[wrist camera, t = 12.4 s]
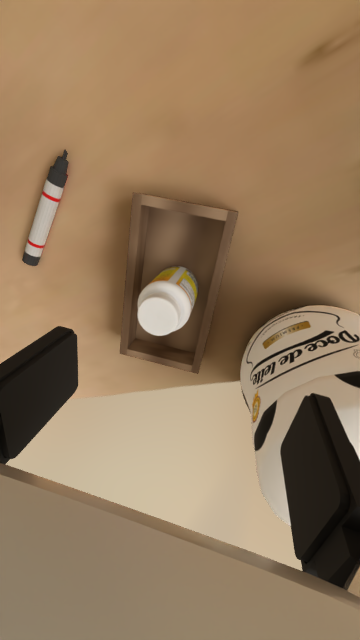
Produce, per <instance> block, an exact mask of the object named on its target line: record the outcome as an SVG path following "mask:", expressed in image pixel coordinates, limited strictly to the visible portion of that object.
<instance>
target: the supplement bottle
mask: <svg viewBox="0 0 360 640" xmlns="http://www.w3.org/2000/svg"><path fill="white" fill-rule="evenodd" d="M198 290H199V286H198V281H197V279H196V277H195V276H194V274H193V273H192V272H191V271H189V270H188V269H186V268H184V267H180V266H172V267H169V268H166V269H165V270H163V271H162V272H161V273H160V274H159V275H158V276H157V277H156V278H155V279H154V280H153V281H151V282H150V283H149V284H148V285H147V286H146V287H145V288H144V289H143V290H142V292H141V293H140V295H139V298H138V312H137V316H138V321H139V323H140V325H141V326H142V328H143V329H144V330H145V331H147V332H148V333H150V334H152V335H156V336H163V335H167V334H169V333H171V332H173V331H176V330H178V329H180V328H181V327H183V326H184V325H185V323H186V322H187V321H188V319H189V317H190V314H191V311H192V309H193V306H194V303H195V301H196V298H197V295H198Z"/></svg>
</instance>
